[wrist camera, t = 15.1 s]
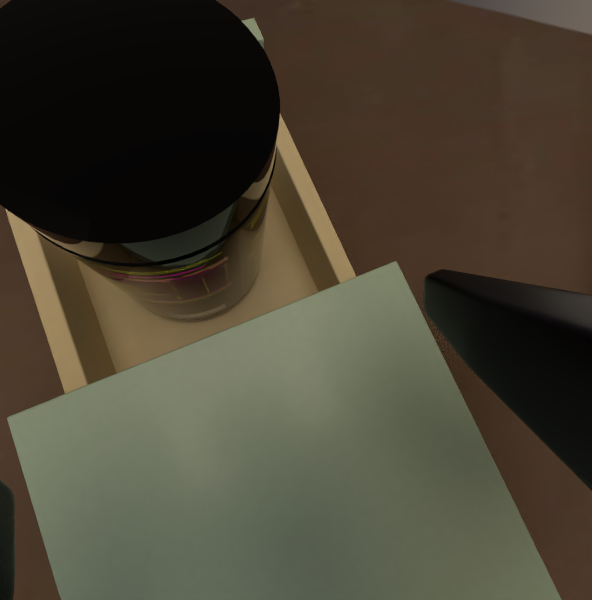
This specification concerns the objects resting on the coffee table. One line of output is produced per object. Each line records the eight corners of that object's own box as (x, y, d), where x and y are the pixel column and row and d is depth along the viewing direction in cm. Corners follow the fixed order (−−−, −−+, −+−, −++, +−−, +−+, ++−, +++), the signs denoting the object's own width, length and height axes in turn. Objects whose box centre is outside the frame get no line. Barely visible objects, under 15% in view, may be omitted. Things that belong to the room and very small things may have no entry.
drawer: (-7, 92, 20) (-85, 4, 15) (225, 37, 22) (220, -54, 18) (115, 455, 17) (65, 483, 12) (366, 343, 19) (403, 332, 15)
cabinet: (91, 405, 18) (5, 417, 12) (350, 297, 21) (396, 260, 14) (217, 785, 16) (197, 1064, 9) (492, 606, 18) (623, 725, 12)
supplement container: (241, 177, 19) (234, -46, 9) (280, 301, 18) (321, 201, 8) (104, 208, 18) (-75, -12, 8) (137, 342, 17) (-24, 285, 7)
